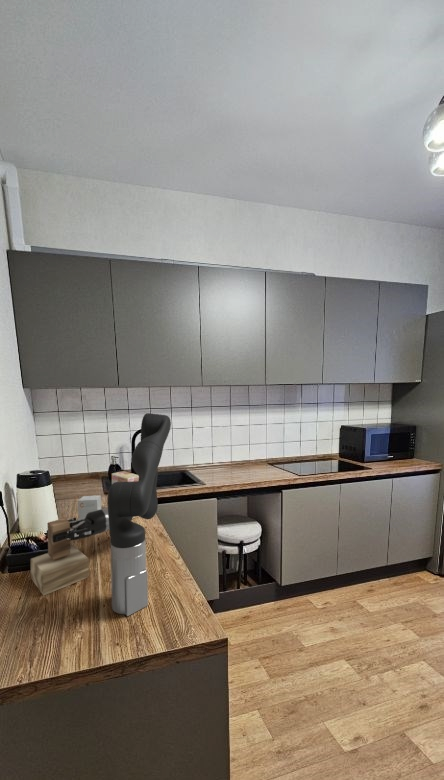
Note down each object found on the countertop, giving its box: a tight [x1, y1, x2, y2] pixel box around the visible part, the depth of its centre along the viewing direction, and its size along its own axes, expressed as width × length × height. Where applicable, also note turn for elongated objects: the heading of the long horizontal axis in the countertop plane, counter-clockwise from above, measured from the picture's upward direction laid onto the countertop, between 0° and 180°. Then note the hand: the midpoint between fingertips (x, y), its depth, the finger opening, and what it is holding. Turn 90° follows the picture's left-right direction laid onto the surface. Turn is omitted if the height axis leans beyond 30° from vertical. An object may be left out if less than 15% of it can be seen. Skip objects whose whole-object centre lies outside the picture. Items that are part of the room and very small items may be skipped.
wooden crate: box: [30, 544, 91, 596], centre depth 103 cm, size 14×14×6 cm
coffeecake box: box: [111, 470, 139, 519], centre depth 156 cm, size 15×7×20 cm, turn 46°
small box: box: [77, 495, 102, 519], centre depth 142 cm, size 8×6×13 cm
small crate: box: [47, 517, 72, 560], centre depth 103 cm, size 5×5×10 cm
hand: (50, 536), depth 102 cm, fingers closed on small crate, 5 cm apart
